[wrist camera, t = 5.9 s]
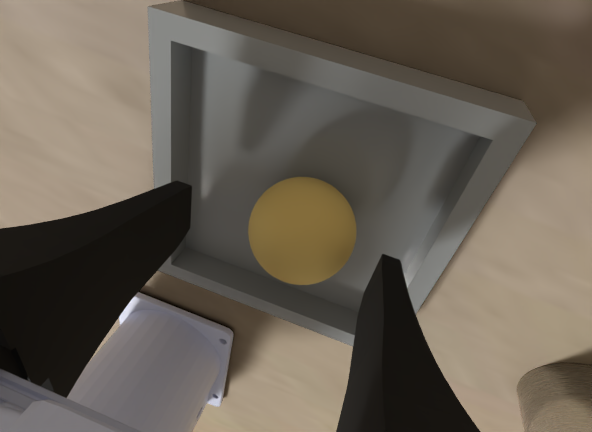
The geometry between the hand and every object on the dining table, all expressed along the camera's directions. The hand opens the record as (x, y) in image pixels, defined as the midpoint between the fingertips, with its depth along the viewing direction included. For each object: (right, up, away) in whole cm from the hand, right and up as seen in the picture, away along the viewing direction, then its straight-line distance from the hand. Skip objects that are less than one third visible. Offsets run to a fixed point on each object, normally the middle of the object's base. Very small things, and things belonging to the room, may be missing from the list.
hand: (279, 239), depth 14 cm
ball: (+1, 0, +1) cm, 1 cm away
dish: (+1, +2, +3) cm, 3 cm away
